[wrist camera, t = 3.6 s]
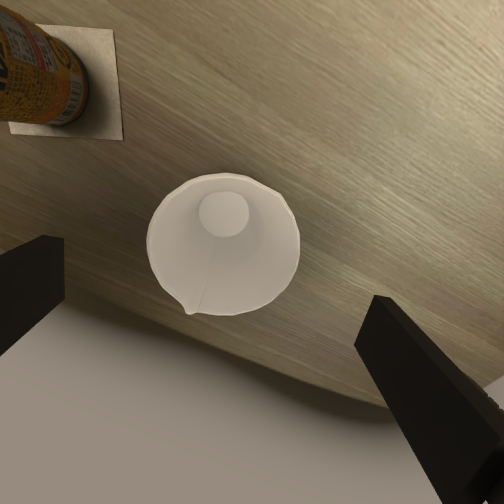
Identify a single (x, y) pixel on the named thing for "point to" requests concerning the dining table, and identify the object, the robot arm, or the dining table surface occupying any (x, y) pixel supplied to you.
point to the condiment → (58, 80)
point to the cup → (223, 244)
